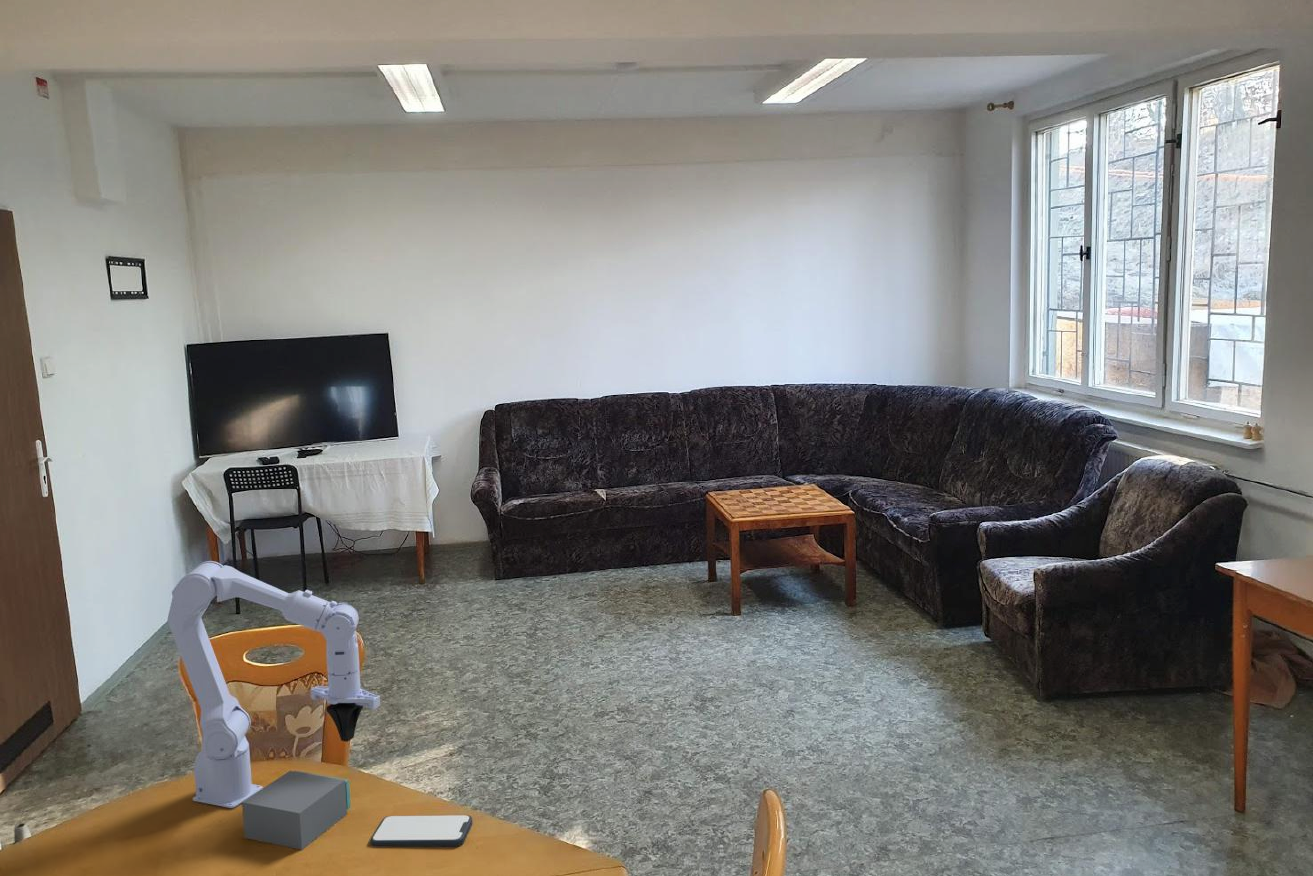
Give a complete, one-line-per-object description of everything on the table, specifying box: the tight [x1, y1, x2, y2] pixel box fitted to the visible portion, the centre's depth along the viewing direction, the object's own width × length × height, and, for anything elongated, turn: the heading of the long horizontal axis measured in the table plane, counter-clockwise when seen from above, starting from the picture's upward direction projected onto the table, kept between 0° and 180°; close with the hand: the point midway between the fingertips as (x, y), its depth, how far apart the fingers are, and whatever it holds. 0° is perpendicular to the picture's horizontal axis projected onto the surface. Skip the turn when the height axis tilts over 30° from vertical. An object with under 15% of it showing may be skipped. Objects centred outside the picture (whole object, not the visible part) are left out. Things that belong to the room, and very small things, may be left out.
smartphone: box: [369, 814, 473, 848], centre depth 167 cm, size 9×2×16 cm
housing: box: [241, 770, 348, 851], centre depth 169 cm, size 12×12×6 cm
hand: (347, 739), depth 183 cm, fingers closed
